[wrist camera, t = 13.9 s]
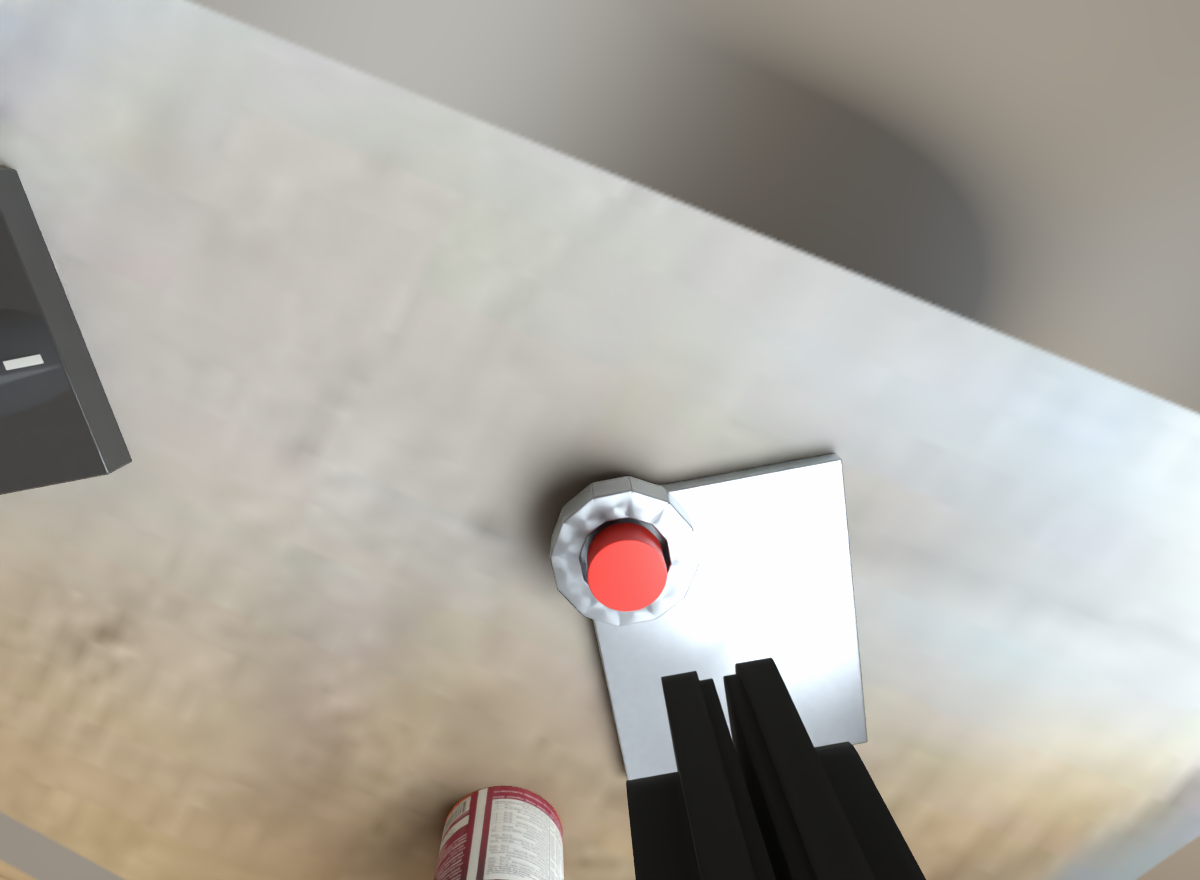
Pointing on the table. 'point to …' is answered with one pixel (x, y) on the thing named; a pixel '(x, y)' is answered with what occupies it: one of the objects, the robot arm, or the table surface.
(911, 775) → the table surface
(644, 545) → the button
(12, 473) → the base plate
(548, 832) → the pill bottle
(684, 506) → the block
